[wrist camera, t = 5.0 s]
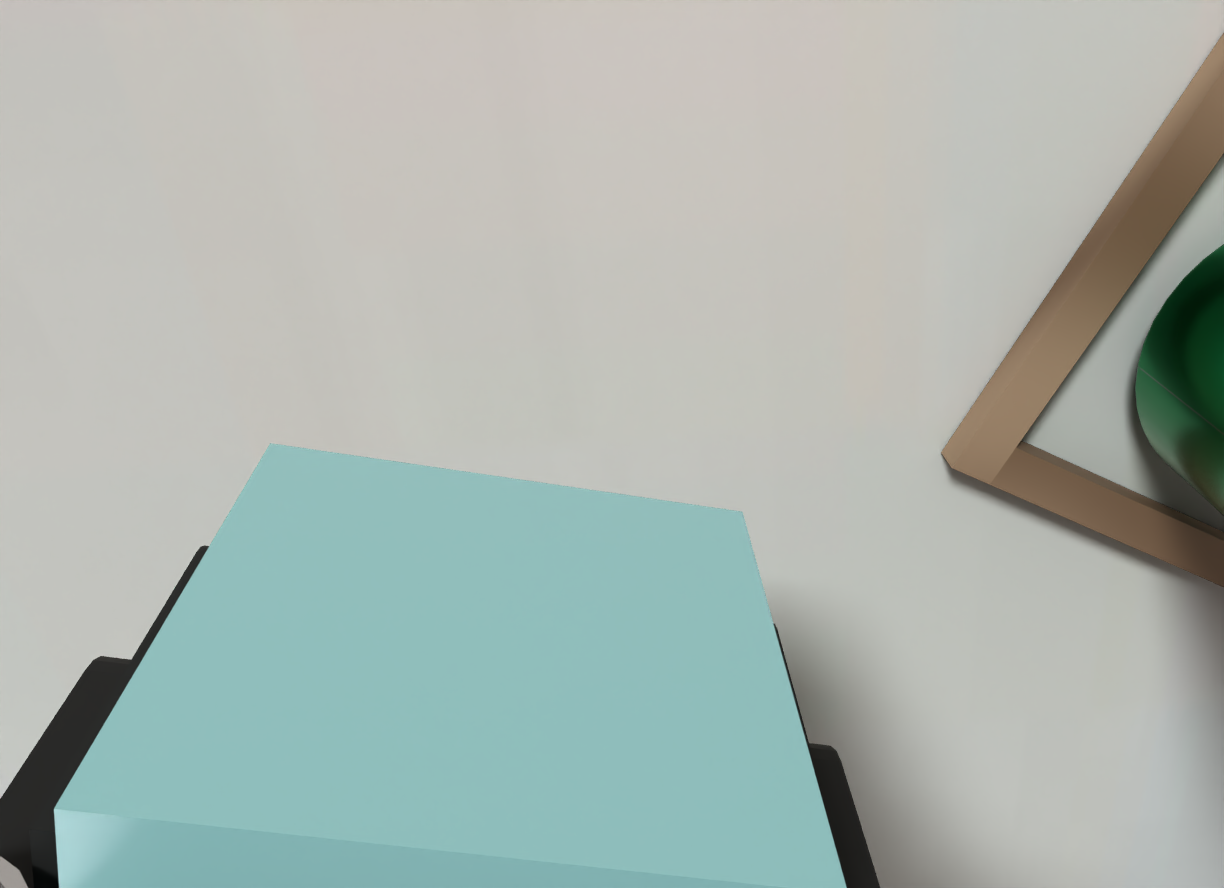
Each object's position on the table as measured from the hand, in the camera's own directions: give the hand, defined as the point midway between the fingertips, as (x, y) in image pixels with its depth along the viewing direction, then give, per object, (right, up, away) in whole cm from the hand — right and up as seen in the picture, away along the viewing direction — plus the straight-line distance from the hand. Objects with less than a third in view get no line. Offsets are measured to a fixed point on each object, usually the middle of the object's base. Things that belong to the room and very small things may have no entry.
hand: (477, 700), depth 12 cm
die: (0, 0, 0) cm, 1 cm away
